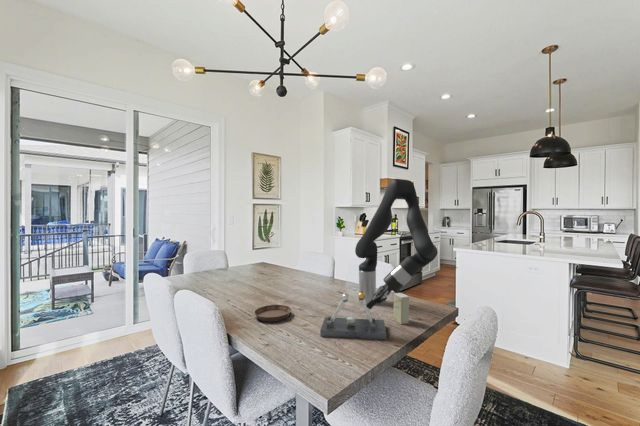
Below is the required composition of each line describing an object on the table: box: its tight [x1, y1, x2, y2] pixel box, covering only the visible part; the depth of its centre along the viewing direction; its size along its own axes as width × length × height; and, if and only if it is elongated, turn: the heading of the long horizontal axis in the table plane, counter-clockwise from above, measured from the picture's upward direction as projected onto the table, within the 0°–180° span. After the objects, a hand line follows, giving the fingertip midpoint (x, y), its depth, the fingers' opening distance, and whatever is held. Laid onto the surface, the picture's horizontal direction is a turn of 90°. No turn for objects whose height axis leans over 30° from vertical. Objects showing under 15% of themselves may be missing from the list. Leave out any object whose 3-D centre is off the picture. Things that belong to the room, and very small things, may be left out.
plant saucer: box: [253, 304, 292, 322], centre depth 142 cm, size 18×18×3 cm
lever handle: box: [357, 291, 373, 323], centre depth 123 cm, size 4×3×14 cm
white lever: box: [330, 292, 350, 323], centre depth 125 cm, size 4×3×14 cm
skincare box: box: [392, 292, 410, 325], centre depth 134 cm, size 6×4×12 cm
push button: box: [346, 316, 356, 325], centre depth 124 cm, size 4×4×2 cm
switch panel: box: [319, 315, 387, 341], centre depth 124 cm, size 14×26×4 cm, turn 81°
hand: (368, 307), depth 123 cm, fingers closed
